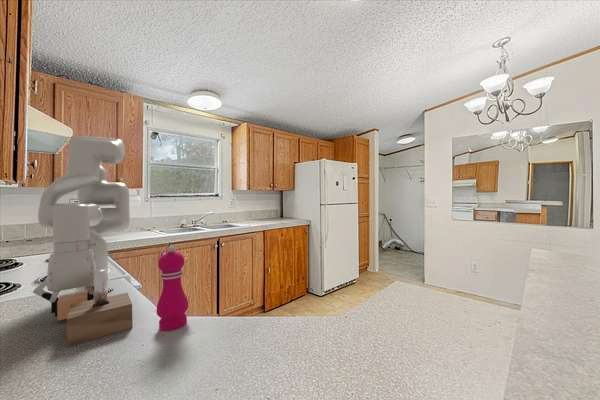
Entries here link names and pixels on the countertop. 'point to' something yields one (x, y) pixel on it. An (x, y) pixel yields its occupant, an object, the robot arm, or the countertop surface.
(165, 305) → the pepper mill
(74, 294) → the cardboard-colored cube
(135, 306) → the countertop surface
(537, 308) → the countertop surface
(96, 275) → the post
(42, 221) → the robot arm
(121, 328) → the post block
